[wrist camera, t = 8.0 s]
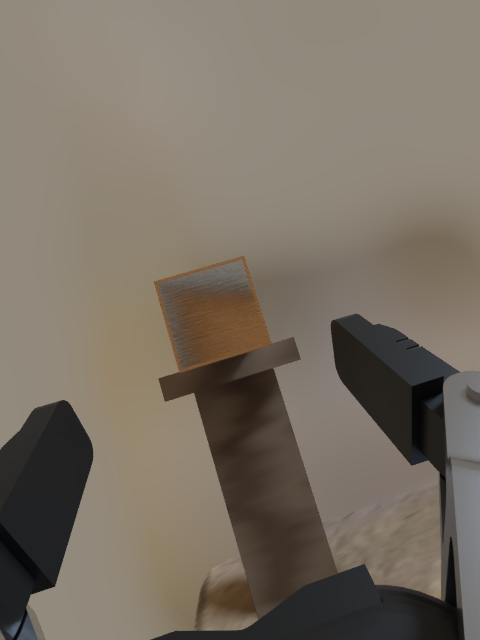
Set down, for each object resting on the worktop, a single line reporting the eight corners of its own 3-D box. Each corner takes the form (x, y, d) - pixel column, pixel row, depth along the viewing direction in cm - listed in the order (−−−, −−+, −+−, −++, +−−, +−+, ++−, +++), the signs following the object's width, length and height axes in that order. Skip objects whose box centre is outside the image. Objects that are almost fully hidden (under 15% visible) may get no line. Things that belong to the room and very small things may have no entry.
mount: (359, 633, 35) (264, 331, 38) (499, 927, 17) (295, 306, 20) (270, 667, 34) (181, 356, 37) (316, 1011, 16) (138, 353, 20)
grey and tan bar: (242, 354, 35) (233, 326, 35) (271, 344, 11) (244, 255, 11) (213, 363, 34) (205, 334, 35) (179, 372, 11) (154, 281, 11)
